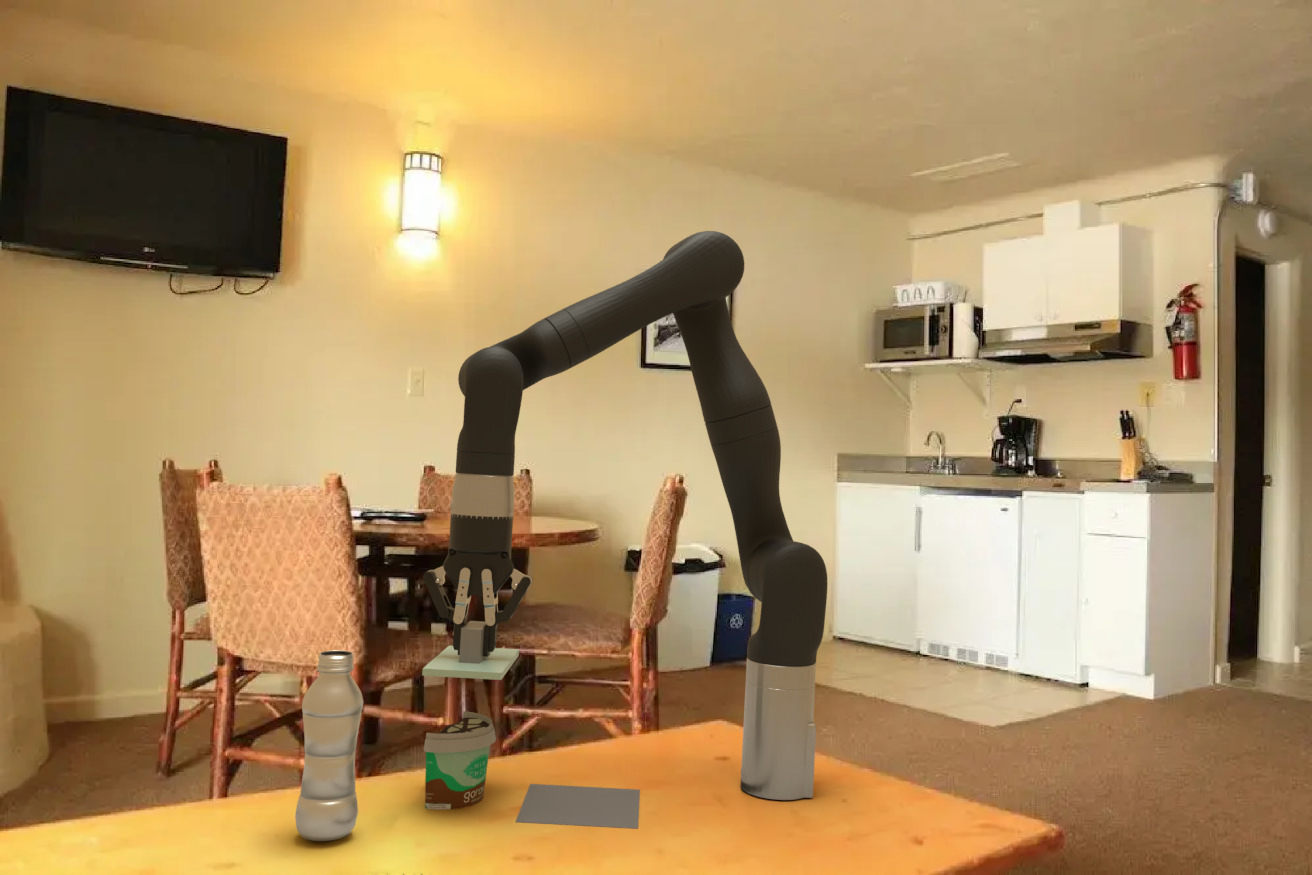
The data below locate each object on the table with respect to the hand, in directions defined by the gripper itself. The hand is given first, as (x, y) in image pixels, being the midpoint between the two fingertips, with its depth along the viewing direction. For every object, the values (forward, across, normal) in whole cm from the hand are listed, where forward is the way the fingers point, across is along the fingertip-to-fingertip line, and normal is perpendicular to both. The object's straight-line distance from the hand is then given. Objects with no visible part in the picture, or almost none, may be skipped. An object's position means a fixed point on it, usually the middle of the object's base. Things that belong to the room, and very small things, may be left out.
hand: (473, 654), depth 124 cm
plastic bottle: (+19, +13, +12) cm, 26 cm away
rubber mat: (+18, -14, 0) cm, 23 cm away
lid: (+1, 0, 0) cm, 1 cm away
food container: (+19, 0, 0) cm, 19 cm away
